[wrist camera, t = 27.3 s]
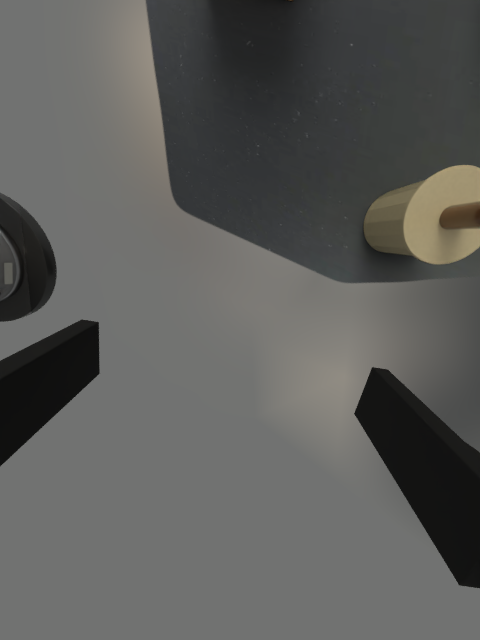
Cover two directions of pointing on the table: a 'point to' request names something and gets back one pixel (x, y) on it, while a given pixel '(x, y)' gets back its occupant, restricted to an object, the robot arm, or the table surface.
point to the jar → (388, 221)
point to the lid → (444, 216)
